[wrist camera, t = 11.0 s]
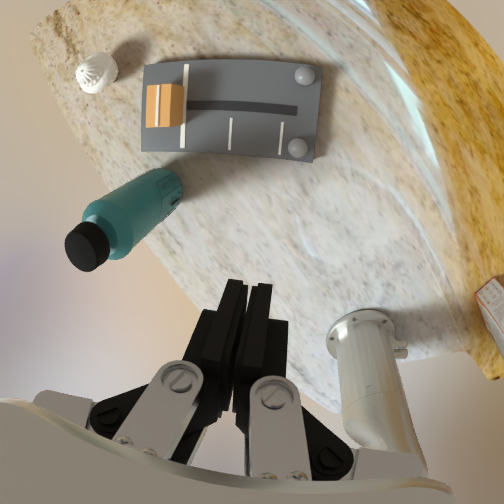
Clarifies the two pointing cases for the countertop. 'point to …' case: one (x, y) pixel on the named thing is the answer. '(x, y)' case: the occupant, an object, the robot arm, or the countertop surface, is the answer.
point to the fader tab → (164, 105)
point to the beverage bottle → (122, 219)
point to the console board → (238, 108)
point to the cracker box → (493, 311)
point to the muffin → (97, 72)
